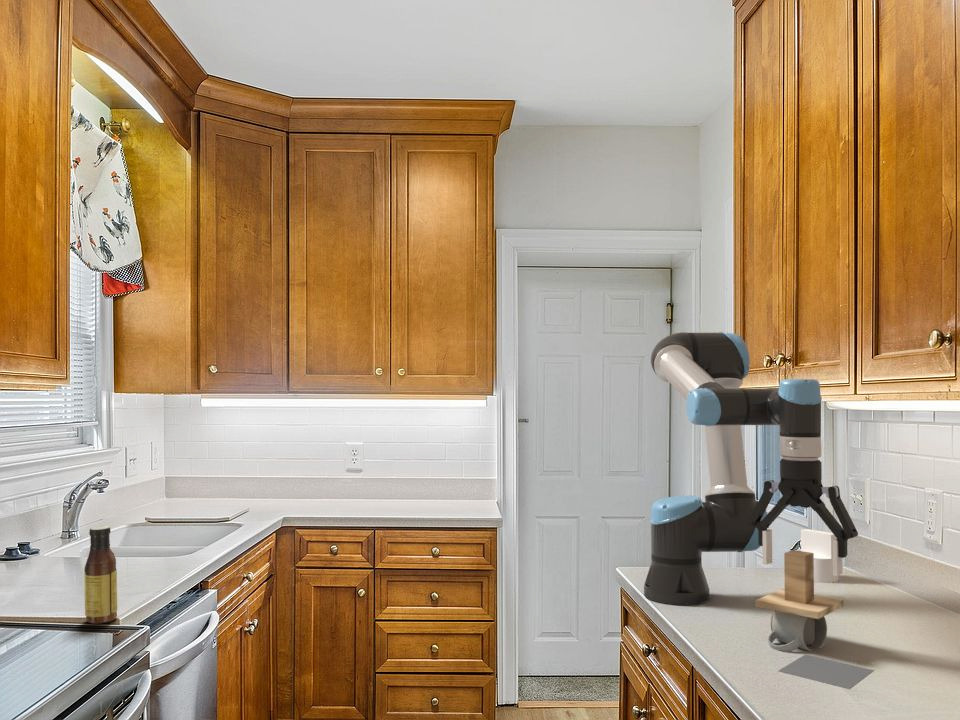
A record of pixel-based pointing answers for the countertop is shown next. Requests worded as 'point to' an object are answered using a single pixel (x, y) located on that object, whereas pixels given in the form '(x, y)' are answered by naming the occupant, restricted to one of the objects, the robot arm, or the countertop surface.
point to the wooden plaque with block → (799, 590)
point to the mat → (826, 671)
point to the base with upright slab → (820, 553)
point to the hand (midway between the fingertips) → (801, 568)
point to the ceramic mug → (796, 631)
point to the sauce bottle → (100, 578)
